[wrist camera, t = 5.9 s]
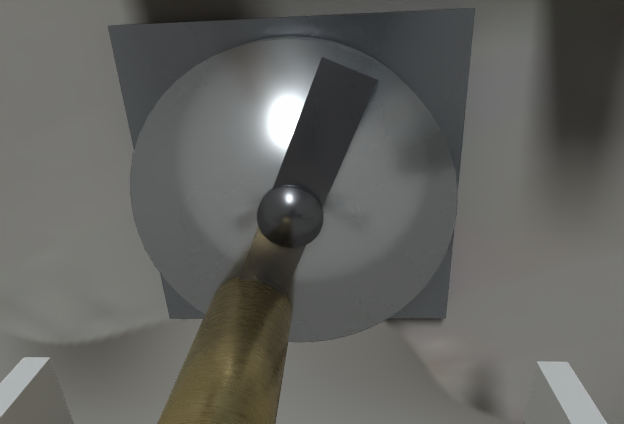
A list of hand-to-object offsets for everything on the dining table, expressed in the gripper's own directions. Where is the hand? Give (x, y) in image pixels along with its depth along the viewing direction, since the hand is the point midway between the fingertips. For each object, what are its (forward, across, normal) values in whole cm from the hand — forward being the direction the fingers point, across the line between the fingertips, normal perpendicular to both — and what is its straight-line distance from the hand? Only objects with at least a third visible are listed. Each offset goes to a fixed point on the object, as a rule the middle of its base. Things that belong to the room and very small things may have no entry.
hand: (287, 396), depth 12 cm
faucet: (+5, 0, +4) cm, 6 cm away
